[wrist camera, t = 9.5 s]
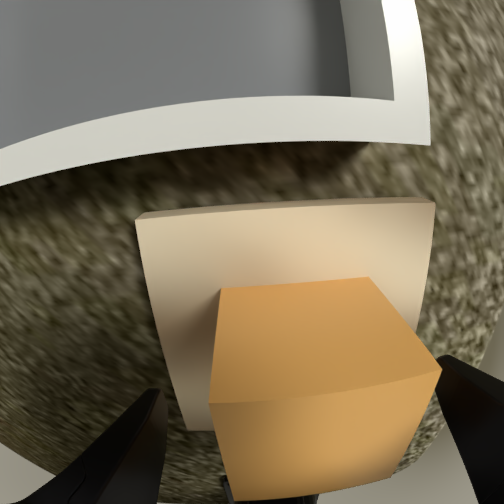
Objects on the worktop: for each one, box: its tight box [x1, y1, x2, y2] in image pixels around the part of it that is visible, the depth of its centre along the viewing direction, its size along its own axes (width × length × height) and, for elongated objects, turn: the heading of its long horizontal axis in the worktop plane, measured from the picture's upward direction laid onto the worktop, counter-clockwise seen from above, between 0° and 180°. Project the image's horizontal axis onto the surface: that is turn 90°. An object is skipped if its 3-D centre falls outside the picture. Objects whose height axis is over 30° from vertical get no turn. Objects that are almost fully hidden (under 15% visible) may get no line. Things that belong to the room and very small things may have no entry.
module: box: [208, 276, 442, 501], centre depth 9 cm, size 5×5×5 cm
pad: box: [135, 197, 435, 431], centre depth 12 cm, size 10×10×1 cm
